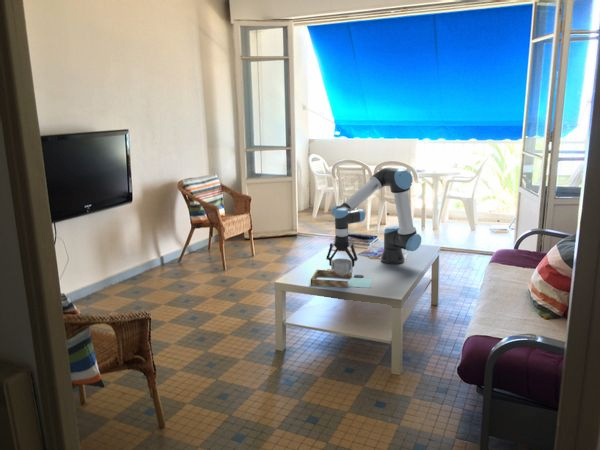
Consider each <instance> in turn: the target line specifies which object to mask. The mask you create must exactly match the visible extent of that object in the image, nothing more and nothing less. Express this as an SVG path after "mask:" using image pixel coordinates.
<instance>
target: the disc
mask: <svg viewBox="0 0 600 450" xmlns="http://www.w3.org/2000/svg"><path fill="white" fill-rule="evenodd" d="M353 278H365V276H364V275H363V274H354V275H353Z"/></svg>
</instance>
